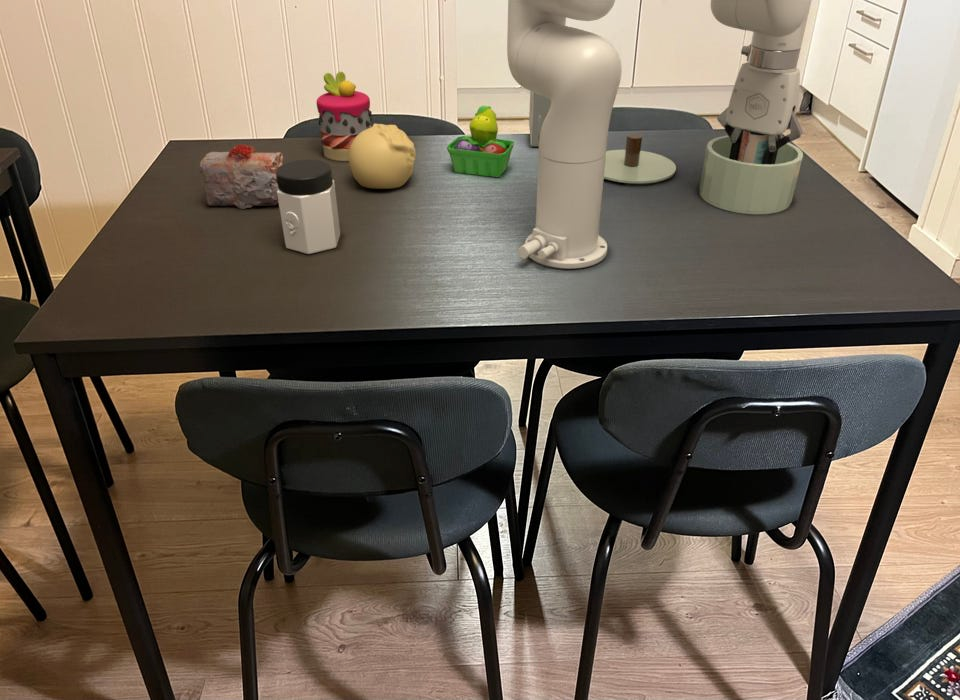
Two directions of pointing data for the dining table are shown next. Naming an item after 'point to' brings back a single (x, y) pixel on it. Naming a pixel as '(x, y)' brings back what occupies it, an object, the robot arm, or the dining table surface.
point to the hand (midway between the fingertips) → (750, 167)
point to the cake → (341, 116)
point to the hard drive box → (537, 115)
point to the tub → (749, 180)
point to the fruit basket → (481, 147)
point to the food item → (241, 177)
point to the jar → (308, 206)
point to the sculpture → (382, 157)
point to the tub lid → (637, 164)
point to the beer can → (752, 147)
